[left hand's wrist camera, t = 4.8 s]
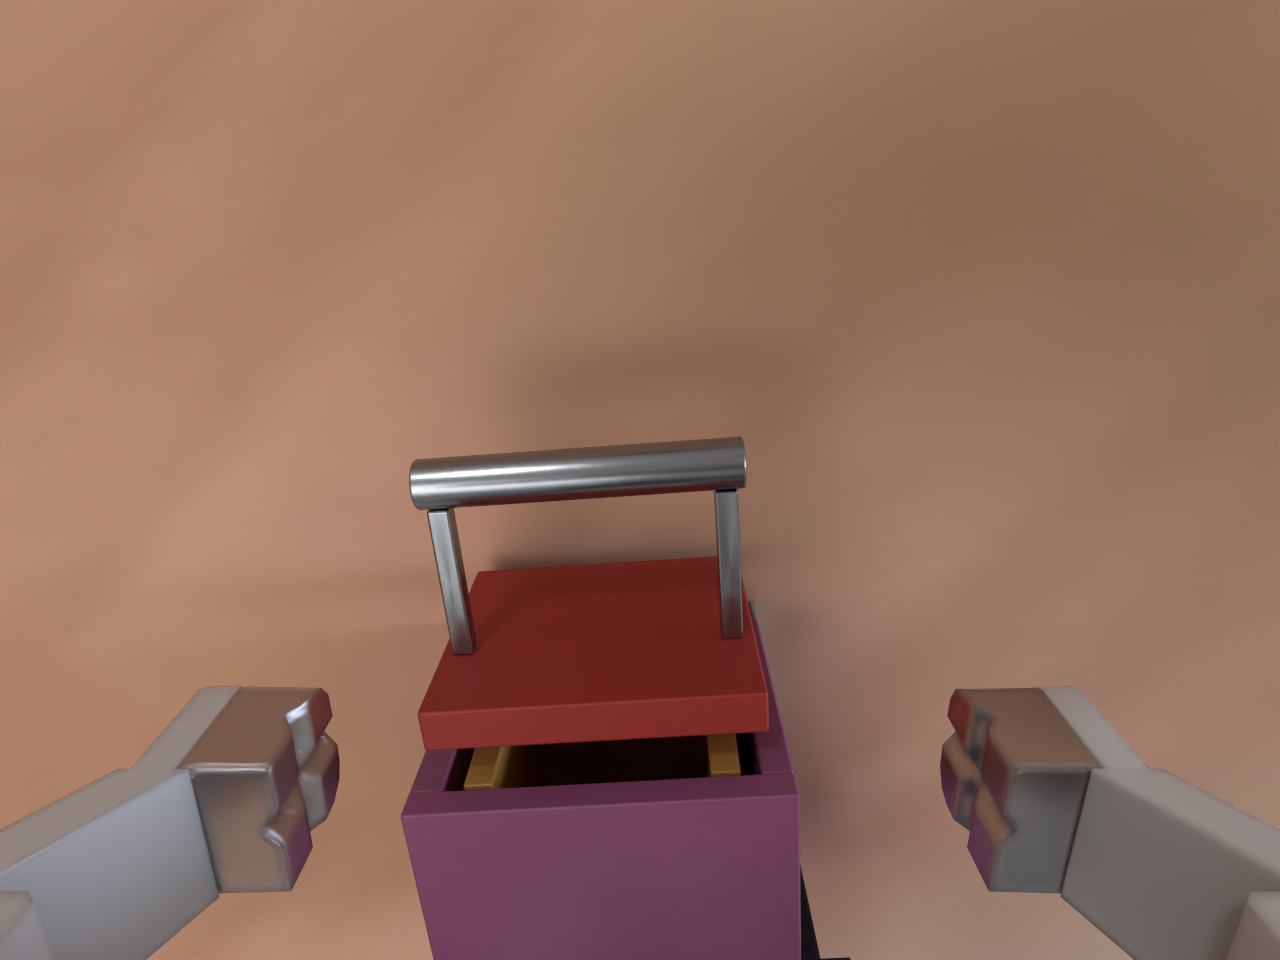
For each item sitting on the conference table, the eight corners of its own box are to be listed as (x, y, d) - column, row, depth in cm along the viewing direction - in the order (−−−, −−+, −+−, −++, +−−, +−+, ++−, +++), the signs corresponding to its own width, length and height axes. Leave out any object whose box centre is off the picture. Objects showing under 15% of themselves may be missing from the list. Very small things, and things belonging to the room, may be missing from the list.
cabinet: (475, 618, 30) (398, 815, 21) (753, 601, 29) (800, 794, 20) (520, 882, 34) (474, 1140, 25) (762, 870, 34) (803, 1127, 25)
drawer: (450, 408, 26) (372, 502, 19) (730, 388, 26) (762, 476, 18) (520, 832, 32) (482, 1029, 25) (747, 821, 32) (776, 1017, 24)
